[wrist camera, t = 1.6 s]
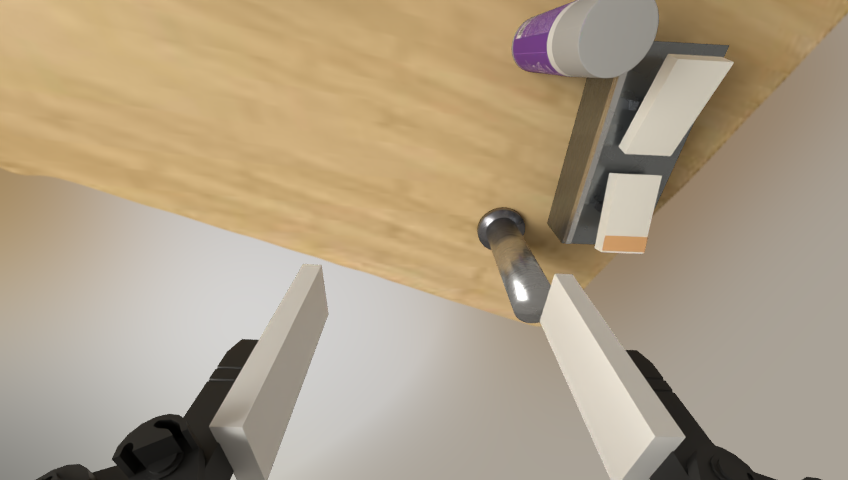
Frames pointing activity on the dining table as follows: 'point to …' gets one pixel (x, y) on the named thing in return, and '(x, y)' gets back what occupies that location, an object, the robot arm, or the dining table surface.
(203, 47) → the dining table surface
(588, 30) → the container
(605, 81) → the grey channel rail
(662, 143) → the paddle
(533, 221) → the dining table surface
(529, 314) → the post
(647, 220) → the paddle
